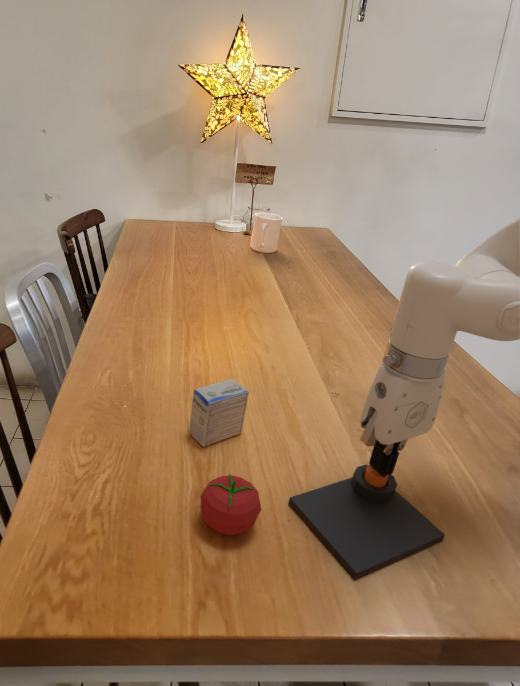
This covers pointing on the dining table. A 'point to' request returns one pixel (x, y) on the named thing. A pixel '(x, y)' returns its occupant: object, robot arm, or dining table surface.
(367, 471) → the tare button
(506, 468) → the dining table surface
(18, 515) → the dining table surface
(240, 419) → the medicine box
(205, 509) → the tomato
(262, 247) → the mug
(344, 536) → the scale
